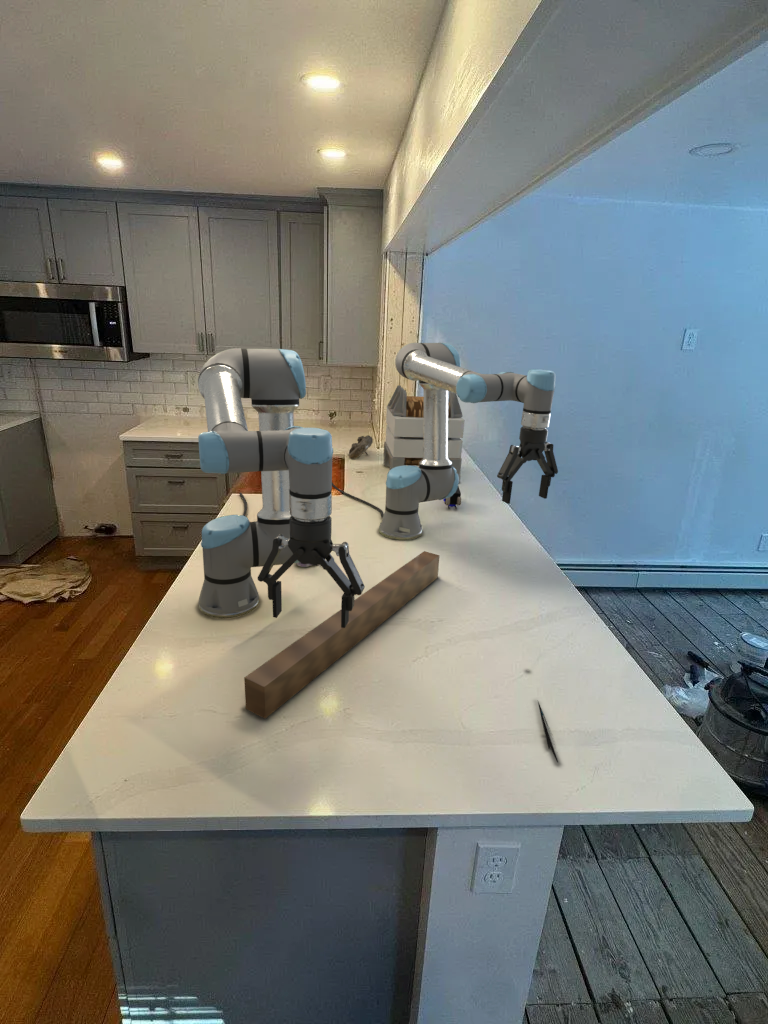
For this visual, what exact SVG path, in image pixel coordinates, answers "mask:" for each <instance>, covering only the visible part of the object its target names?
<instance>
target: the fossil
mask: <svg viewBox="0 0 768 1024" xmlns="http://www.w3.org/2000/svg"><path fill="white" fill-rule="evenodd" d="M373 443H374V442H373V437H372V436H371V435H366V436H365V435H361V436H358V437H357V442H353V443H352V444H351V447H350V448H349V450H348V457H349V459H353V460H354V459H356V458H358V457H360V456H361V455H363V454H366V456H368V455H369V454H368V452H367V450H368V449H369V448H371V446H372V444H373Z"/></svg>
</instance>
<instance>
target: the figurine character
mask: <svg viewBox="0 0 768 1024" xmlns="http://www.w3.org/2000/svg"><path fill="white" fill-rule="evenodd" d="M443 502H444V504H445V506H447V509H448V510H451V508H453V507H454V510H457V509H458V507H459V506H461V505H462V492H461V490H460V486H459V485H458V488H457V490H456V492H455V493H454V494H453V495H452V496H451V497H449V498H445V499H443ZM450 507H451V508H450Z"/></svg>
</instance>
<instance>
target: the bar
mask: <svg viewBox="0 0 768 1024" xmlns="http://www.w3.org/2000/svg"><path fill="white" fill-rule="evenodd" d="M439 566H440V555H439V554H436V553H433V552H429V551H425V550H424V551H422V552H421V553H419V554H418V555H417V556H415V557H413V558H412V559H411V560H410V561H408V562H406V563H405V564H403V565H402V566H401V567H399V568H397V570H395V571H394V572H392V573H391V574H390V575H388V576H386V577H385V578H384V579H382V580H381V581H379V582H378V583H376V584H374V585H373V586H372V587H371V588H369V589H368V590H367V591H365V592H364V593H361V595H359V596H358V597H356V598H354V607H353V609H352V611H349V621H348V623H347V625H346V627H345V628H341V609H339V610H338V611H336V612H335V613H333V614H332V615H331V616H330V617H328V618H327V619H325V620H324V621H322V622H321V623H320V624H318V625H317V626H315V627H314V628H312V630H310V631H308V632H307V633H305V634H304V635H302V636H301V637H299V638H298V639H297V640H295V641H294V642H293V643H291V644H290V645H288V646H286V648H284V649H283V650H281V651H280V652H278V653H277V654H275V655H274V656H273V657H271V658H270V659H268V660H267V661H266V662H264V663H263V664H261V665H260V666H258V667H257V668H255V669H254V670H253V671H251V672H250V673H248V674H247V675H246V676H244V677H243V681H244V682H243V683H244V702H245V703H244V704H245V710H247V711H249V712H251V713H253V714H255V715H257V716H259V717H261V718H263V719H267V718H268V717H269V716H271V715H272V714H274V712H276V711H277V710H278V709H279V708H280V707H282V706H283V705H284V704H285V703H286V702H288V701H289V700H291V698H293V697H294V696H295V695H296V694H298V693H299V692H300V691H302V690H303V689H304V688H306V686H308V685H309V684H310V683H311V682H312V681H313V680H314V679H316V678H317V677H318V676H320V675H321V674H322V673H324V671H326V670H327V669H328V668H330V667H331V666H332V665H333V664H334V663H335V662H337V661H338V660H339V659H340V658H341V657H343V656H344V655H345V654H346V653H348V652H349V651H350V650H351V649H353V648H354V647H355V646H356V645H357V644H359V643H360V642H361V641H362V640H363V639H365V638H366V637H367V636H368V635H370V634H371V633H372V632H374V630H376V629H377V628H378V627H380V626H381V625H382V624H383V623H384V622H385V621H387V620H388V619H389V618H390V617H392V616H393V615H394V614H396V613H397V612H398V611H399V610H400V609H402V607H404V606H405V605H406V604H407V603H409V602H410V601H411V600H412V599H414V598H415V597H416V596H418V594H420V593H421V592H423V590H425V589H426V588H427V587H428V586H430V585H431V584H432V583H434V581H436V580H437V579H438V578H439Z"/></svg>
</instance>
